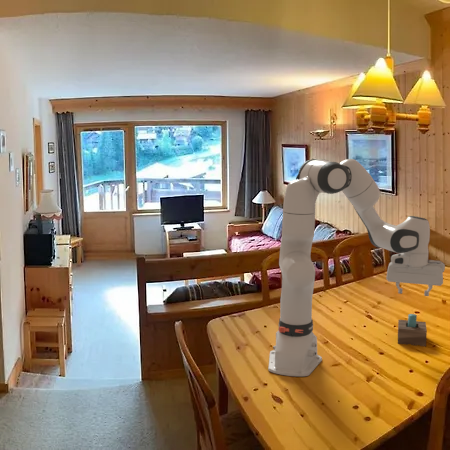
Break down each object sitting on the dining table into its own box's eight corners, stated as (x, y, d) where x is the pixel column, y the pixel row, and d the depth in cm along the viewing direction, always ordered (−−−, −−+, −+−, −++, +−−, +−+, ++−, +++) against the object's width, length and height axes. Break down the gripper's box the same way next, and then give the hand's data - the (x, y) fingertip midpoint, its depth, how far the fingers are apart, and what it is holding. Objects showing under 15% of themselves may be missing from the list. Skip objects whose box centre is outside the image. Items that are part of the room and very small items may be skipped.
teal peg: (415, 341, 203) (416, 316, 201) (407, 341, 204) (408, 316, 202) (415, 338, 206) (416, 314, 204) (406, 338, 207) (408, 313, 205)
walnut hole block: (425, 346, 199) (426, 331, 198) (397, 343, 202) (398, 328, 201) (424, 336, 208) (425, 322, 207) (397, 334, 211) (398, 319, 210)
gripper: (444, 259, 199) (441, 294, 202) (387, 255, 205) (385, 289, 208) (446, 263, 193) (443, 299, 196) (387, 258, 199) (385, 294, 202)
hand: (413, 294), depth 202 cm, fingers open, 8 cm apart
